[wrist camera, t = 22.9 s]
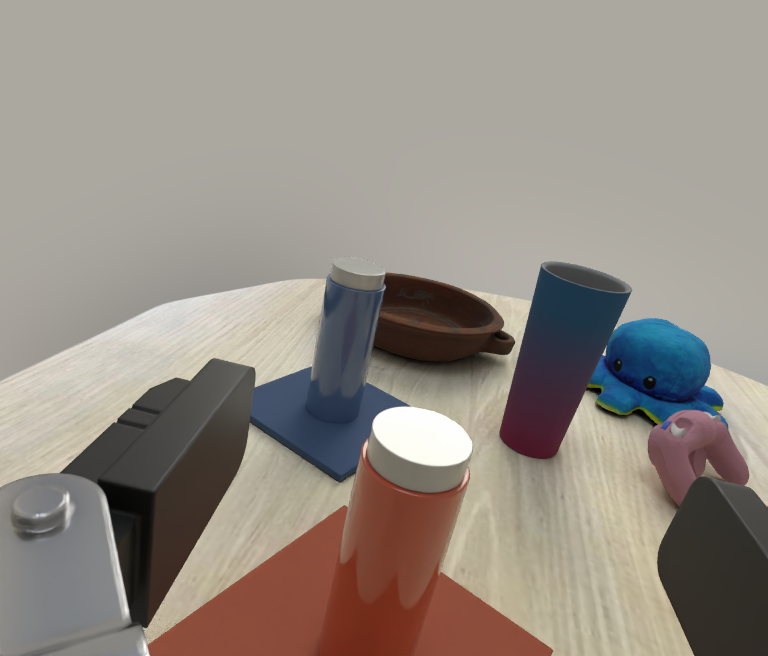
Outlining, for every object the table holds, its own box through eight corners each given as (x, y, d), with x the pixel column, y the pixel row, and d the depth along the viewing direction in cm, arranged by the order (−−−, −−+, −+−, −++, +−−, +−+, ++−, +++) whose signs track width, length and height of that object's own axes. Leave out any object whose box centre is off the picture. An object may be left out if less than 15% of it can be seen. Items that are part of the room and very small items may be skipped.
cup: (478, 415, 50) (527, 256, 44) (546, 421, 52) (601, 268, 46) (506, 463, 44) (567, 285, 38) (582, 467, 46) (651, 297, 40)
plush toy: (711, 390, 67) (741, 327, 64) (736, 459, 52) (777, 382, 49) (572, 345, 72) (594, 285, 69) (558, 397, 57) (585, 323, 54)
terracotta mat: (395, 956, 17) (399, 947, 17) (137, 660, 24) (137, 651, 24) (550, 657, 28) (553, 649, 28) (342, 511, 35) (344, 504, 35)
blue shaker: (335, 430, 42) (364, 279, 38) (294, 404, 45) (317, 259, 40) (370, 411, 46) (400, 271, 41) (330, 388, 48) (355, 253, 43)
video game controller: (697, 477, 51) (691, 400, 51) (753, 486, 47) (747, 404, 47) (640, 506, 45) (634, 419, 45) (700, 519, 41) (693, 425, 41)
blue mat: (339, 482, 38) (341, 475, 38) (224, 404, 44) (225, 398, 43) (430, 423, 47) (431, 417, 47) (325, 366, 53) (326, 360, 53)
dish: (508, 399, 54) (523, 353, 52) (295, 340, 57) (302, 295, 55) (508, 336, 70) (519, 300, 68) (342, 292, 73) (349, 256, 71)
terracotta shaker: (336, 711, 23) (395, 476, 19) (306, 621, 27) (350, 406, 22) (427, 683, 25) (500, 464, 21) (388, 603, 29) (443, 401, 24)
